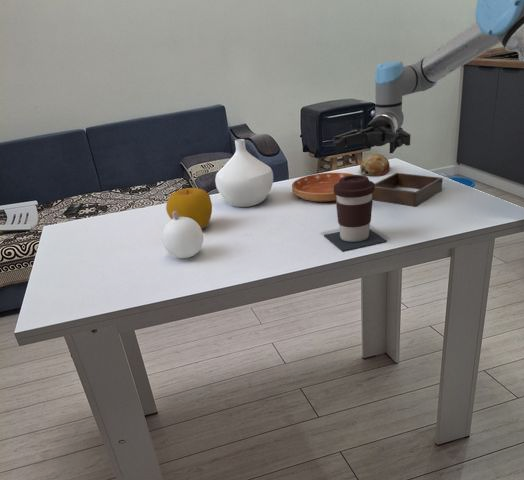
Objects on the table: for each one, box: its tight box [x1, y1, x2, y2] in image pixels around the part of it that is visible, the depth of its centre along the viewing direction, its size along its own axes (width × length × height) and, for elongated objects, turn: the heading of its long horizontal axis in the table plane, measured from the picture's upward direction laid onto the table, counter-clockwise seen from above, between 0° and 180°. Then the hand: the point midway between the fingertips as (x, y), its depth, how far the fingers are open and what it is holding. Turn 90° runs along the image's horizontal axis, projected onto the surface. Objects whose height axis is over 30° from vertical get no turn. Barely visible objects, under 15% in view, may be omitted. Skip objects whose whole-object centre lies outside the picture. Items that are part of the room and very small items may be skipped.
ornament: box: [161, 211, 204, 259], centre depth 136 cm, size 10×10×12 cm
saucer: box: [291, 172, 355, 203], centre depth 171 cm, size 23×23×4 cm
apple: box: [165, 187, 213, 230], centre depth 154 cm, size 13×13×11 cm
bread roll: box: [359, 153, 391, 177], centre depth 185 cm, size 10×10×8 cm
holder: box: [372, 172, 444, 208], centre depth 162 cm, size 16×16×4 cm
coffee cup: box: [334, 174, 375, 242], centre depth 134 cm, size 10×10×15 cm
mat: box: [323, 228, 388, 253], centre depth 138 cm, size 12×12×1 cm
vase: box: [214, 138, 274, 208], centre depth 168 cm, size 18×18×19 cm
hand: (363, 148), depth 134 cm, fingers open, 13 cm apart
